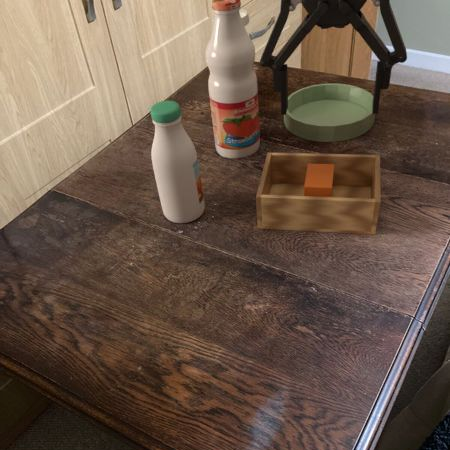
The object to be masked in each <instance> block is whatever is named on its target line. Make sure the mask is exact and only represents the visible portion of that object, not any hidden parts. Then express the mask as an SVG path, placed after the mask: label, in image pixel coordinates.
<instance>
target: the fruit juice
mask: <svg viewBox="0 0 450 450" xmlns="http://www.w3.org/2000/svg"><path fill="white" fill-rule="evenodd" d="M211 8H212V9H211V10H212V13H213V14H214V18H213V19H214V24H213V28H212V30H211V35H210V38H209V41H208V43H207V45H206V47H205V61H206V65H207V68H208V70H209V76H208V81H207V82H208V83H207V86H208V87H207V88H208V97H209V104H210V113H211V121H212V130H213V139H214V146H215V150H216V152H217V154H218V155H220V157H222V158H226V159H242V158H247V157H249V156H252V155H254V154H255V153H257V151H258V150H259V149H260V146H261V135H260V134H261V131H260V109H259V90H258V89H259V87H258V86H259V85H258V78H257V77H258V76H257V74H256V71H255V69H254V65H255V61H256V48H255V44H254V42H253V40H252V39H251V37H250V36H249V34H248V32H247V29H246V26H245V27H244V24H243V22H242V19H241V16H240V13H239V10H240V9H242V2H241V0H211Z"/></svg>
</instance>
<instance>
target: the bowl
mask: <svg viewBox="0 0 450 450" xmlns="http://www.w3.org/2000/svg"><path fill="white" fill-rule="evenodd" d="M373 96H374V94H373V93H371V92H370V91H368V90H366V89H365V88H362V87H359V86H356V85H352V84H345V83H334V82H333V83H330V82H329V83H319V84H313V85H308V86H306V87H303V88H300V89H298V90H296V91H294V92H292V93H291V94H289V95H288V108H287V113H286V115H283V124H284V127H285V128H286V130H287V131H289V133H291V134H292V135H294V136H296V137H298V138H300V139H302V140H307V141H310V142H311V141H312V142H318V143H336V142H343V141H348V140H349V141H350V140H352V139H356V138H358V137H360V136H362V135H364V134H366V133H367V132H368V131H370V129H371V128H372V127H373V126H374V124H375V120H376V114H373V112H372V104H373Z"/></svg>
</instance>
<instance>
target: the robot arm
mask: <svg viewBox="0 0 450 450" xmlns="http://www.w3.org/2000/svg"><path fill="white" fill-rule="evenodd" d="M367 1H368V0H280V8H279V9H280V10H279V13H278V16H277V19H276V20H275V23H274V25H273V27H272V30H271V32H270V35H269V37H268V40H267V42H266V45H265V47H264V49H263V51H262V54H261V57H260V59H259V65H260V67H261V68H266V67H267V68H269V69H270V70H271V71H272V85H273V86H272V87H273V91H274V92H275V93H276V92H280V116H284V115H286V113H287V108H288V97H289V88H288V87H289V85H288V83H289V82H288V79H289V77H288V63H286V62H287V61H288V60H289V59H290V57H291V56H292V54H293V53H294V52H295V51H296V50H297V48H298V47H299V46H300V44H301V43H302V42H303V41H304V40H305V38H306V37H307V35H308V34H310V33H311V32H312V30H313V29H314V28H315V26H317V27H318V28H320V29H321V30H328V29H330V28H335V29H336V28H337V29H345V27H347V26H349V25H351V27H353V29H354V30H355V32H357V33H358V34H359V35H360V37H361V38H362V39H363V41H364V42H365V44H367V46H368V48H369V49H370V50H371V52H372V53H373V54H374V55H375V56H376V58H377V59H378V61H377V62H376V72H375V80H374V86H373V87H374V89H373V104H372V112H373V114H375V115H378V113H379V107H380V99H381V93H382V92H381V90H388V89H389V87H390V84H391V77H392V70H393V67H394V66H395V65H397V64H399V63H400V64H403V63H405V62H406V61H407V59H408V52H407V47H406V45H405V42H404V39H403V36H402V34H401V31H400V28H399V25H398V22H397V20H396V17H395V14H394V11H393V9H392V6H391V3H390V2H391V1H390V0H371V1H372V3H373V6H374V7H377V8H378V7H379V11H380V15H381V18H382V21H383V23H384V26H385V29H386V32H387V34H388V37H389V39H390V43H391V45H392V49H393V51H391V50H389V48H388V47H387V45H386V44H385V43H384V41H383V40H382V39H381V38H380V36H379V35H378V33H377V32H376V31H375V30H374V28H373V26H372V25H371V24H370V22H369V21H368V19H366V17H365V15H364V13H363V12H362V9H363V7H364V6H365V5H366V3H367ZM299 4H301V5H302V8H304V10H305V12H307V14H306V15H305V17H304V18H303V20H302V21H301V23H300V24H299V25H298V27H297V28H296V30H295V31H294V32H293V33H292V34H291V36H290V37H289V39H288V40H287V41H286V43H284V45H283V46H282V47H281V49H280V50H279V52H278V53H277V55H273V53H274V51H275V49H276V46H277V45H278V42H279V40H280V37H281V34H282V32H283V31H284V28H285V26H286V23H287V21H288V19H289V15H290V12H294V11H295V10H296V9H297V6H298V5H299Z"/></svg>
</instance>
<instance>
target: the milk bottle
mask: <svg viewBox="0 0 450 450" xmlns="http://www.w3.org/2000/svg"><path fill="white" fill-rule="evenodd" d="M181 113H182V112H181V107H180V104H179V103H178V102H177V101H174V100H163V101H159V102H156V103H154V104H153V105H152V106H151V107H150V116H151V121H152V124H153V125H154V136H153V141H152V144H151V152H150V153H151V154H150V156H151V157H150V158H151V163H152V169H153V174H154V178H155V182H156V188H157V192H158V196H159V201H160V205H161V209H162V213H163V215H164V217H165V218H166V219H167V220H168V221H170V222H172V223H175V224H186V223H191V222H193V221H196V220H197V219H199V218H200V217H201V216H202V215H203V214H204V211H205V207H206V205H205V204H206V203H205V198H204V190H203V184H202V177H201V172H200V166H199V160H198V154H197V151H196V147H195V145H194V142H193V141H192V139H191V138H190V136H189V135H188V133H187V132H186V130H185V128H184V126H183V123H182V121H181V120H182V115H181Z"/></svg>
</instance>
